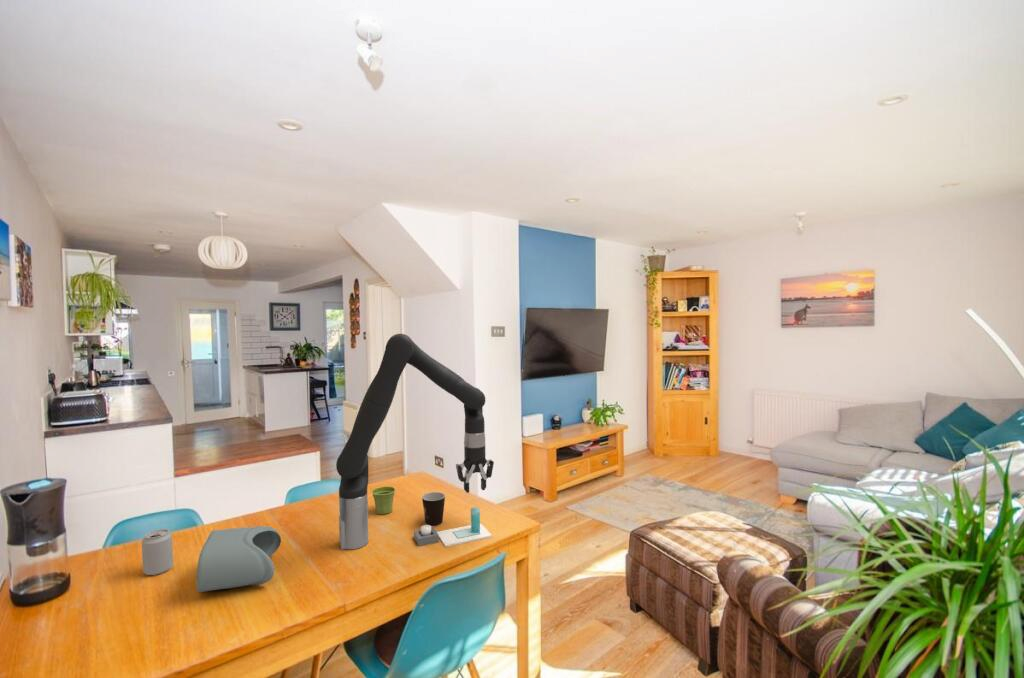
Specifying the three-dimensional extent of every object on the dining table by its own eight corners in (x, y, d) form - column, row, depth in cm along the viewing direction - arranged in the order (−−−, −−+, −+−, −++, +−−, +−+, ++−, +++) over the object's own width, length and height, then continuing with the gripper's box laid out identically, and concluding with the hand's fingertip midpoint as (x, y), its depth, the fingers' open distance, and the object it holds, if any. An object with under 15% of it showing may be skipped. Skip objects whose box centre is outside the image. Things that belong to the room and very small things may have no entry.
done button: (422, 538, 164) (422, 530, 164) (419, 534, 167) (419, 526, 167) (432, 536, 166) (432, 528, 166) (429, 532, 169) (429, 524, 169)
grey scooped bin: (214, 564, 151) (215, 524, 150) (280, 555, 158) (281, 517, 157) (195, 603, 130) (196, 556, 130) (273, 591, 137) (274, 547, 137)
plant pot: (367, 515, 188) (366, 493, 187) (380, 505, 197) (379, 485, 196) (388, 517, 185) (387, 495, 185) (400, 508, 194) (400, 487, 194)
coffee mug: (443, 527, 176) (443, 500, 176) (420, 527, 177) (419, 500, 176) (448, 514, 188) (447, 489, 187) (426, 514, 188) (426, 489, 188)
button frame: (418, 546, 162) (418, 538, 162) (413, 537, 168) (413, 530, 168) (438, 541, 165) (438, 534, 165) (433, 533, 171) (433, 526, 171)
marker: (472, 533, 169) (472, 511, 169) (469, 530, 172) (469, 508, 172) (481, 532, 171) (481, 510, 170) (478, 528, 174) (477, 506, 173)
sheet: (445, 547, 161) (445, 545, 161) (436, 533, 171) (436, 531, 171) (491, 536, 168) (491, 535, 168) (480, 524, 178) (480, 522, 178)
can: (138, 578, 143) (136, 539, 142) (149, 566, 150) (148, 528, 150) (167, 575, 145) (165, 536, 144) (177, 562, 152) (175, 525, 152)
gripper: (458, 449, 164) (459, 497, 165) (497, 444, 170) (497, 491, 171) (452, 444, 171) (452, 490, 171) (489, 439, 177) (489, 484, 177)
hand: (475, 490), depth 171 cm, fingers open, 5 cm apart
